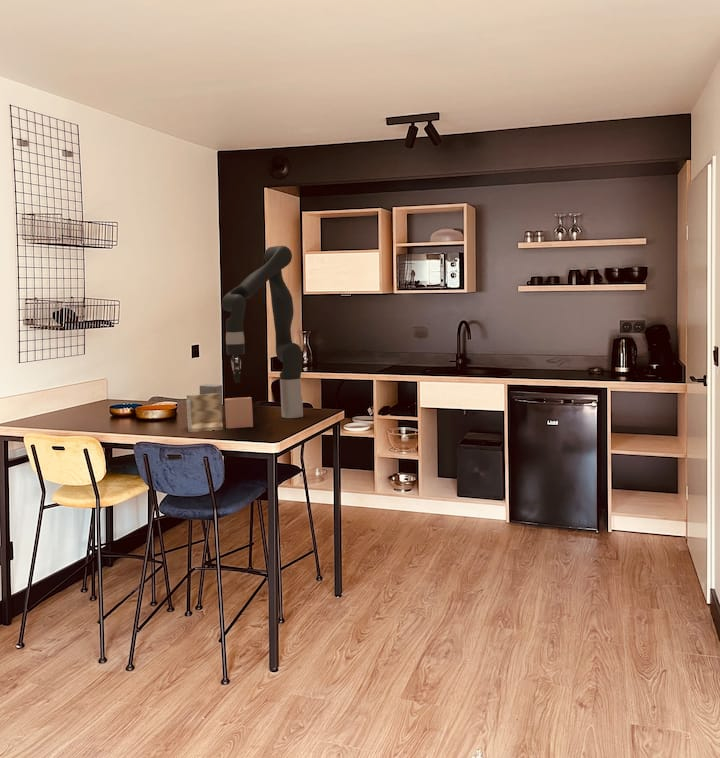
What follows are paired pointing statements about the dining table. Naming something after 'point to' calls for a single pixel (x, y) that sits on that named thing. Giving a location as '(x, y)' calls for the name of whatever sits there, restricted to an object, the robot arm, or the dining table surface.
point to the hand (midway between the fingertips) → (237, 381)
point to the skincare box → (211, 390)
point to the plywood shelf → (206, 412)
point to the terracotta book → (238, 412)
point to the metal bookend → (189, 413)
